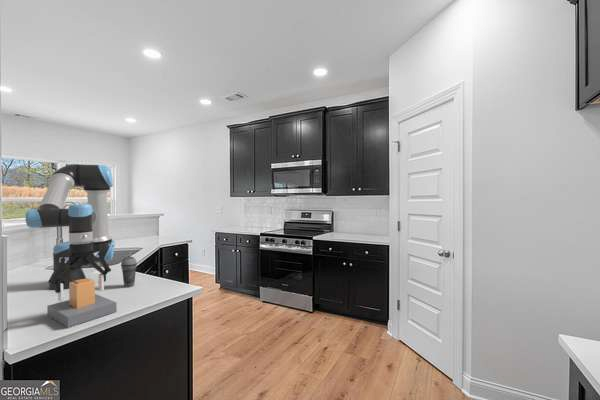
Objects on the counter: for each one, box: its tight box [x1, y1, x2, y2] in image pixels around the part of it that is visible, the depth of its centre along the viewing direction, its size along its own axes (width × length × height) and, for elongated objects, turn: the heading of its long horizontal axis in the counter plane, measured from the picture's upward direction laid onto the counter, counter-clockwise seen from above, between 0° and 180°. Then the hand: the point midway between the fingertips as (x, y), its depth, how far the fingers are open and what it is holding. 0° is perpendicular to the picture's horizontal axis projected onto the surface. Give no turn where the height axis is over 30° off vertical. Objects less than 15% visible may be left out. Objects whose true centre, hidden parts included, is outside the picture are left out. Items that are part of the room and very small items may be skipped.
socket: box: [46, 293, 118, 329], centre depth 111 cm, size 20×16×4 cm
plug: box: [68, 277, 96, 308], centre depth 111 cm, size 7×6×12 cm
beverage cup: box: [120, 247, 138, 288], centre depth 145 cm, size 7×7×20 cm
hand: (82, 295), depth 111 cm, fingers open, 13 cm apart
